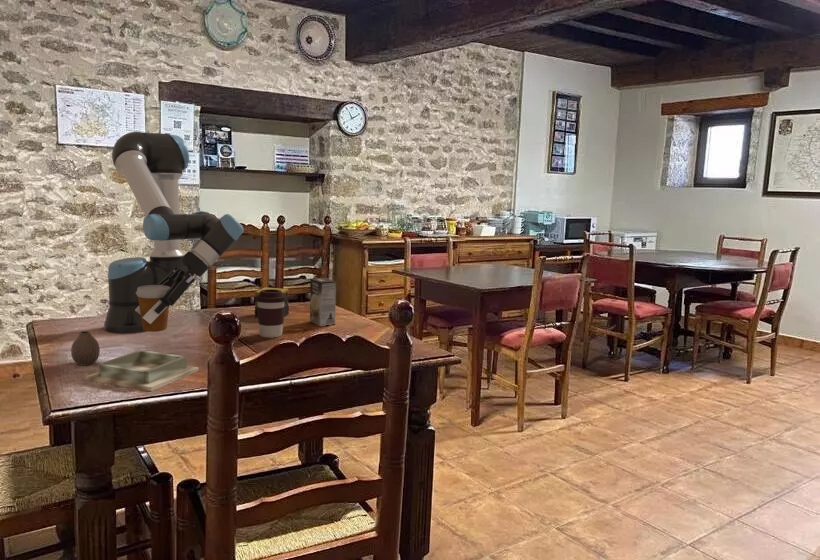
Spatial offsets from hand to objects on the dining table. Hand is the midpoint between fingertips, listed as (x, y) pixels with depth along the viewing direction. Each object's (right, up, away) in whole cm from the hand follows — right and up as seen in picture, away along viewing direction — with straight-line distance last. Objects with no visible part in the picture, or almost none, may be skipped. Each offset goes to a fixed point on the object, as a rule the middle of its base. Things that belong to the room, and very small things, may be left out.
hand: (142, 316), depth 179 cm
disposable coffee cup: (+2, -4, +3) cm, 5 cm away
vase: (-13, -13, -6) cm, 19 cm away
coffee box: (+44, -6, +52) cm, 68 cm away
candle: (+23, -3, +60) cm, 65 cm away
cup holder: (+6, -14, -14) cm, 21 cm away
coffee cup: (+29, -8, +31) cm, 44 cm away
